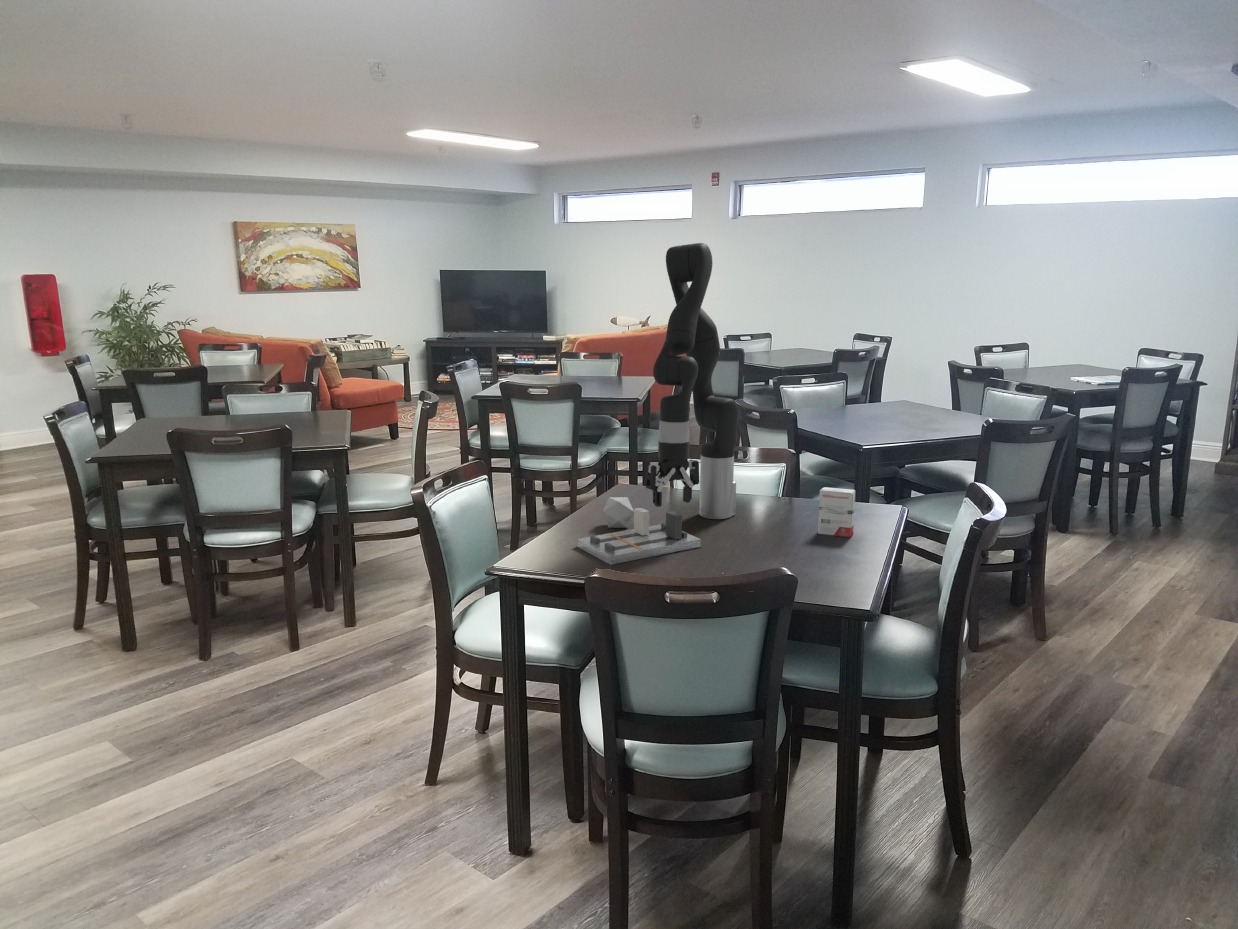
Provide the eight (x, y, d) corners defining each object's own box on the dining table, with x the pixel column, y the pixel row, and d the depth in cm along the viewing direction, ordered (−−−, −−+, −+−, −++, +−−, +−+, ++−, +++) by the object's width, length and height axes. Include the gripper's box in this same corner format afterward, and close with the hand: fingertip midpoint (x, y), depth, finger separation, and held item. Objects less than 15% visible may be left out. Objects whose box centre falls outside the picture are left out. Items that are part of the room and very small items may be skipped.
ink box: (854, 533, 220) (856, 489, 217) (850, 538, 215) (853, 493, 213) (820, 529, 223) (823, 485, 221) (816, 533, 219) (819, 489, 216)
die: (622, 535, 220) (642, 504, 221) (594, 518, 220) (614, 487, 222) (622, 537, 228) (640, 507, 229) (595, 520, 228) (613, 490, 230)
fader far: (640, 530, 214) (640, 507, 213) (649, 534, 211) (649, 511, 210) (633, 531, 213) (633, 508, 212) (642, 535, 210) (642, 512, 208)
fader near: (672, 534, 211) (672, 511, 210) (681, 538, 207) (682, 514, 206) (665, 535, 210) (666, 512, 209) (675, 539, 206) (675, 515, 205)
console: (664, 530, 221) (664, 519, 221) (700, 546, 208) (701, 534, 207) (577, 546, 208) (577, 534, 207) (610, 564, 195) (610, 551, 194)
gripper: (689, 434, 210) (687, 497, 214) (640, 438, 203) (639, 504, 206) (707, 439, 204) (704, 504, 207) (657, 443, 197) (656, 511, 200)
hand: (672, 504), depth 207 cm, fingers open, 8 cm apart
